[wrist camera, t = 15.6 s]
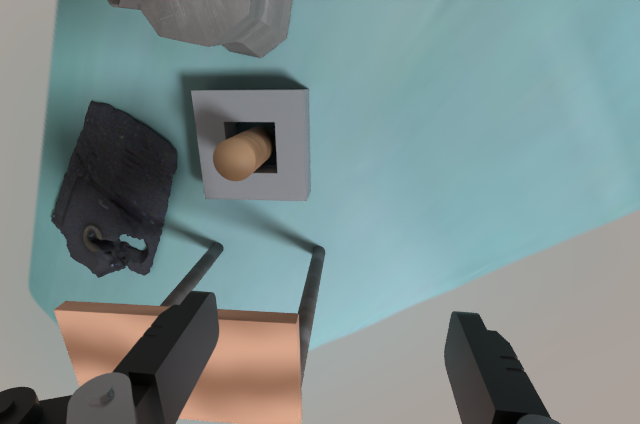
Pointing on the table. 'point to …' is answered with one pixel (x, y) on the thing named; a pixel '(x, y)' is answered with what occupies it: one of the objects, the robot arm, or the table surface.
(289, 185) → the socket
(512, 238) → the table surface
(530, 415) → the robot arm
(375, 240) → the table surface
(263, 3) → the coffeepot
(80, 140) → the dark slate chunk
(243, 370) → the small wooden table
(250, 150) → the peg
